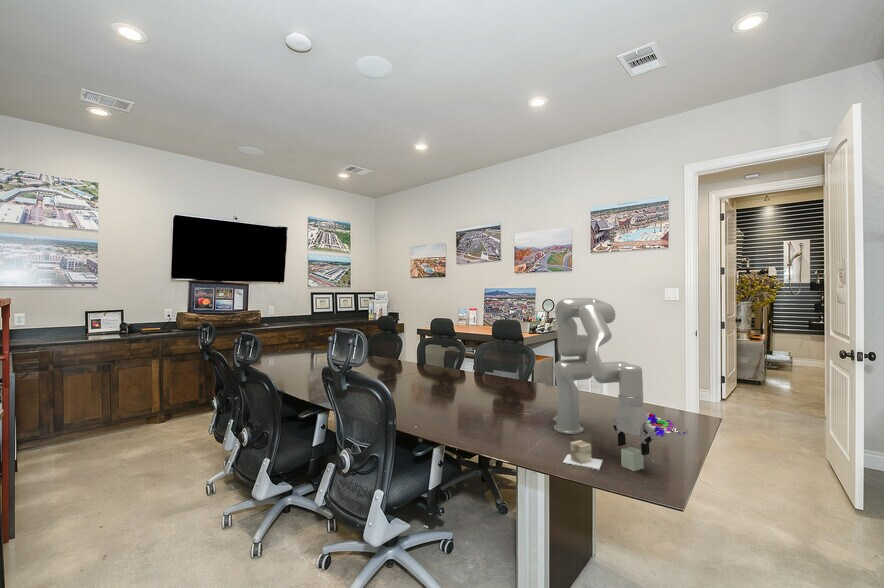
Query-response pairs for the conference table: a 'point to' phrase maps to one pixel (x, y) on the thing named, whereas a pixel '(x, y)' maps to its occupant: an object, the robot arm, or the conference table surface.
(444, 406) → the conference table surface
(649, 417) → the building block set
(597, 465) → the external hard drive
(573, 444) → the birch block
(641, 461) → the sage block
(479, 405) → the conference table surface
